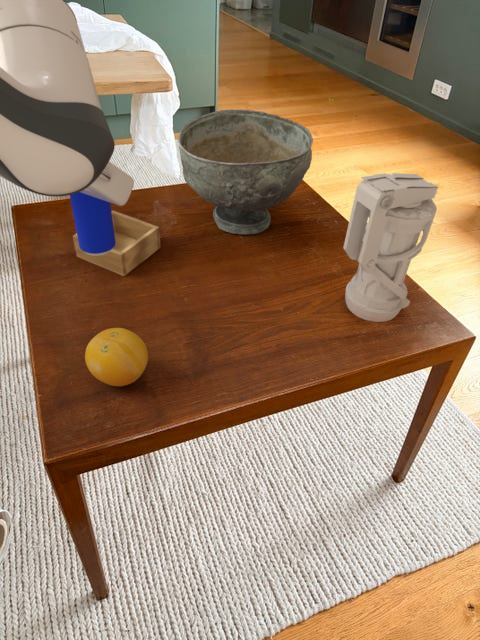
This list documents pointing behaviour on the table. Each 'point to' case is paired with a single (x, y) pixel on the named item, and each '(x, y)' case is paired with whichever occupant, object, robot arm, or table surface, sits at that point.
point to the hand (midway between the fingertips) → (91, 188)
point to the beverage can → (93, 224)
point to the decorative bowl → (244, 164)
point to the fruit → (116, 356)
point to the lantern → (386, 241)
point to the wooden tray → (126, 244)
